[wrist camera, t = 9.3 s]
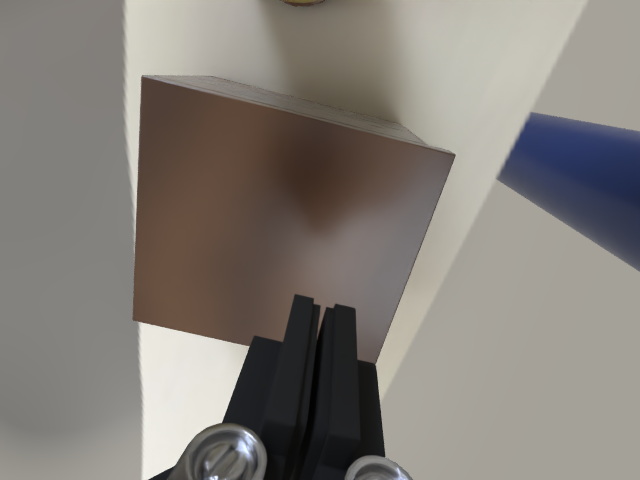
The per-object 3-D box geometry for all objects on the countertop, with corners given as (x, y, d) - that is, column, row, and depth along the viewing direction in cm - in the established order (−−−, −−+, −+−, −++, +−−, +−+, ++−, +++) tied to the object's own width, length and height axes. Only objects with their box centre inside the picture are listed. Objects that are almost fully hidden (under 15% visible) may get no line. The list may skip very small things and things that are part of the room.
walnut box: (401, 124, 20) (429, 145, 14) (350, 285, 24) (354, 356, 18) (210, 75, 20) (152, 75, 13) (192, 249, 24) (141, 310, 18)
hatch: (450, 150, 14) (456, 154, 13) (370, 361, 18) (372, 374, 17) (151, 75, 13) (140, 74, 13) (140, 310, 17) (132, 320, 17)
